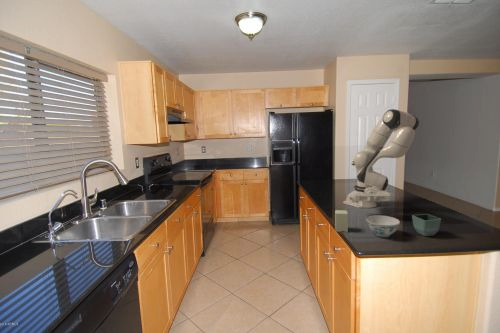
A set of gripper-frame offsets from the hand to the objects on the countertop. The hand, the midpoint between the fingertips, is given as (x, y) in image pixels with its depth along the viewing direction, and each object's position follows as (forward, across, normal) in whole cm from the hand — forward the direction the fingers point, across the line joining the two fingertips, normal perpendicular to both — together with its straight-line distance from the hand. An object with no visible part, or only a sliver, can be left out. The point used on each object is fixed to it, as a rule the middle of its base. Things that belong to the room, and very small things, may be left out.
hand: (372, 199), depth 145 cm
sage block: (+15, -16, +13) cm, 26 cm away
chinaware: (+16, +4, +15) cm, 22 cm away
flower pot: (+10, +23, +16) cm, 29 cm away
